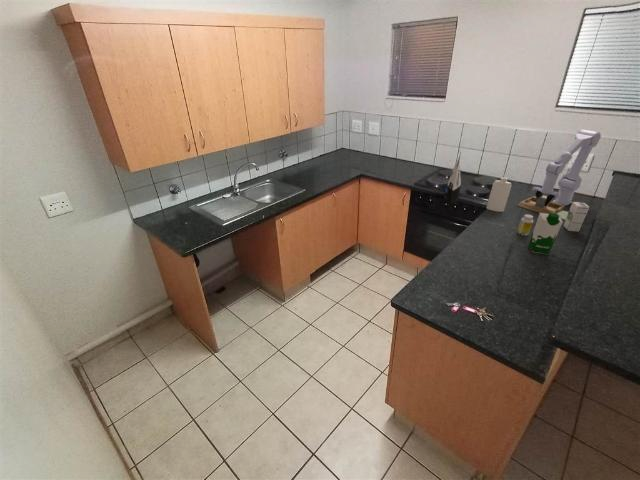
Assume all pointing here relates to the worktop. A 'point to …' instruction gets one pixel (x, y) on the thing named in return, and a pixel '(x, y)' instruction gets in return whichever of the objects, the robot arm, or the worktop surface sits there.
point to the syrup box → (576, 216)
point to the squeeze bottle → (499, 195)
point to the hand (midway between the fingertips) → (541, 204)
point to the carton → (531, 203)
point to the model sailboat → (453, 185)
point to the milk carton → (545, 232)
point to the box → (541, 202)
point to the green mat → (563, 214)
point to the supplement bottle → (525, 225)
